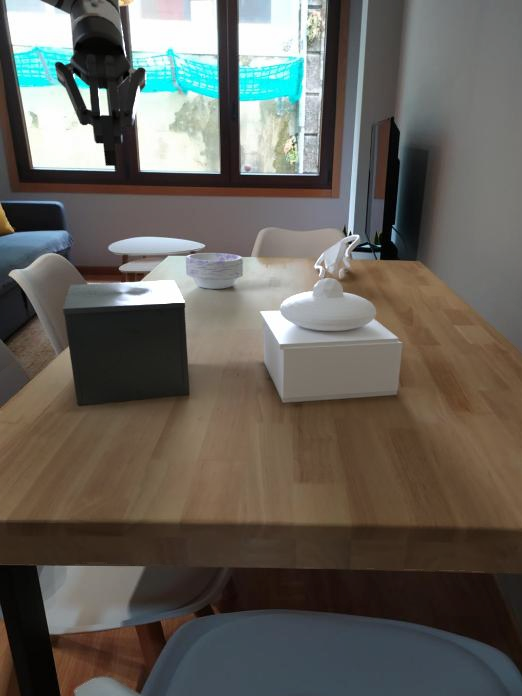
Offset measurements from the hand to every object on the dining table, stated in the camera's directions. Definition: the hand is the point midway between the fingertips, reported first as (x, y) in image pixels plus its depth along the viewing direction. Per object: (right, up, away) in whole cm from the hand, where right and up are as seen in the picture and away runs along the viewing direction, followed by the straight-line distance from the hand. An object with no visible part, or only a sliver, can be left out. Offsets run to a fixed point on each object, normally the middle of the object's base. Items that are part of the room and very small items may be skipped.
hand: (110, 158), depth 75 cm
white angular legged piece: (+40, +2, +90) cm, 99 cm away
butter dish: (+30, -30, +13) cm, 45 cm away
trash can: (+1, -31, +9) cm, 32 cm away
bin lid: (+1, -19, +4) cm, 19 cm away
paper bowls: (+5, -4, +73) cm, 74 cm away
